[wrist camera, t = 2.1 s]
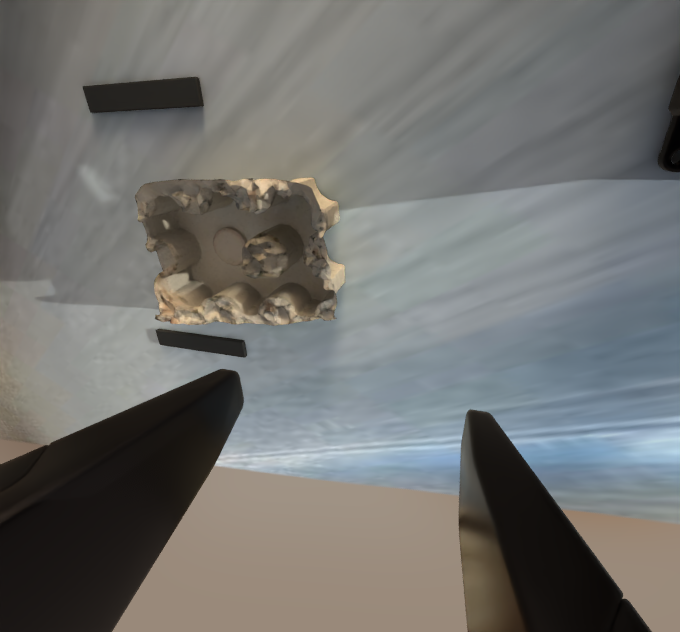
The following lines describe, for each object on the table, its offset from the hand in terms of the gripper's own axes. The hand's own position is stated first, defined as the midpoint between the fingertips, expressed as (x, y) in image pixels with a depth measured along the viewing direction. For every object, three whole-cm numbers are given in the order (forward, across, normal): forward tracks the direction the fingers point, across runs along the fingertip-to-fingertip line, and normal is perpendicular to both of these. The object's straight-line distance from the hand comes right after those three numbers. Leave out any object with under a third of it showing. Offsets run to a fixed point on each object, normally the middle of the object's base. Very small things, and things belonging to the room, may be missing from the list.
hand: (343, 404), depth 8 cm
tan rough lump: (+12, +8, 0) cm, 15 cm away
